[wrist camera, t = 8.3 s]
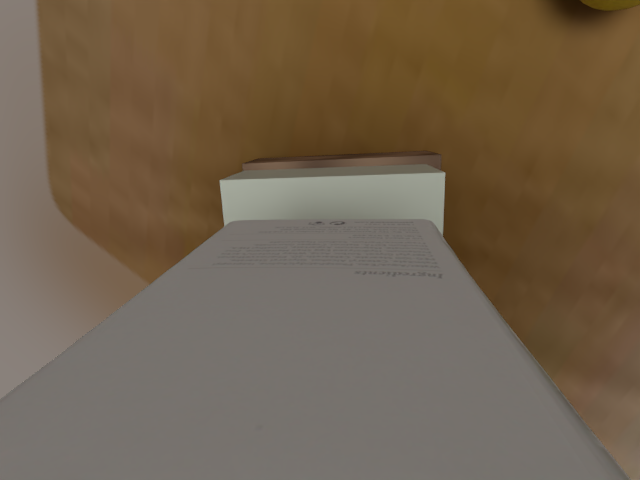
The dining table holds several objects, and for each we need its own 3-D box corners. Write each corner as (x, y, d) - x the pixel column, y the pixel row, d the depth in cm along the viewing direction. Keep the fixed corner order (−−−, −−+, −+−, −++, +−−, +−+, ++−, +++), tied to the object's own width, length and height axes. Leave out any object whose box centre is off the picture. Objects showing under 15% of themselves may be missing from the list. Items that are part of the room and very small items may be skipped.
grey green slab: (425, 164, 24) (445, 172, 19) (421, 331, 27) (437, 375, 22) (244, 170, 25) (219, 180, 20) (259, 331, 28) (240, 374, 23)
